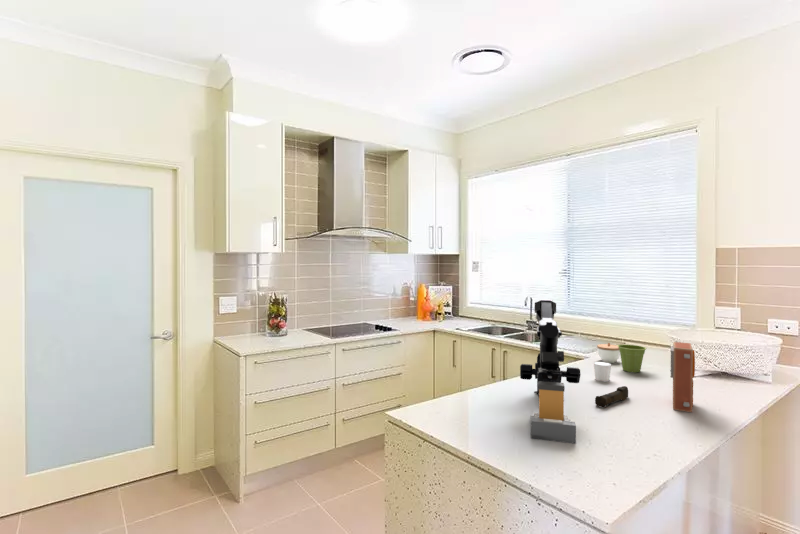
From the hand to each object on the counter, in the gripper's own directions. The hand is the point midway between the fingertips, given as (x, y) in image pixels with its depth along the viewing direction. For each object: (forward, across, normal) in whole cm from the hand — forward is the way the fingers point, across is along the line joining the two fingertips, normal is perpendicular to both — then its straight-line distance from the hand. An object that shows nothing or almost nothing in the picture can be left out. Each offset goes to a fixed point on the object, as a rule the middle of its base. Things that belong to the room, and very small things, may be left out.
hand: (550, 396), depth 136 cm
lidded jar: (-61, +33, +72) cm, 99 cm away
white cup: (-34, +24, +45) cm, 62 cm away
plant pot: (-48, +40, +59) cm, 86 cm away
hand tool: (-13, +23, +24) cm, 36 cm away
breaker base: (+11, 0, 0) cm, 11 cm away
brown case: (-14, +45, +25) cm, 54 cm away
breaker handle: (+8, 0, +1) cm, 8 cm away
